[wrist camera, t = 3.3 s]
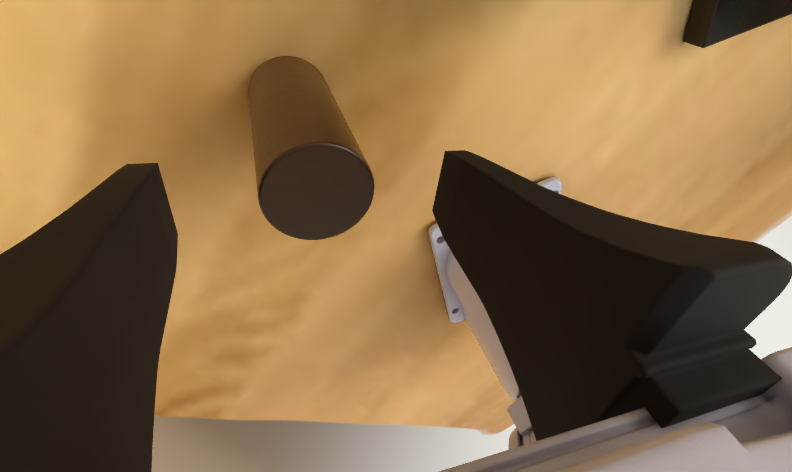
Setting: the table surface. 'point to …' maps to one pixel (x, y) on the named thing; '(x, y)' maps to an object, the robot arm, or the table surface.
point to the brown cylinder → (305, 153)
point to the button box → (730, 18)
